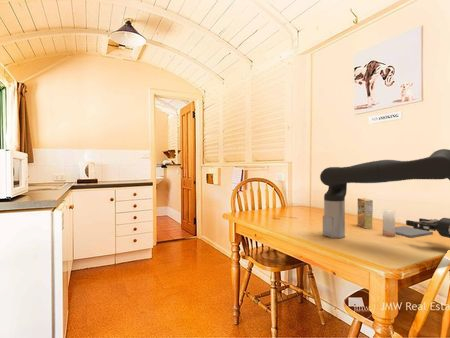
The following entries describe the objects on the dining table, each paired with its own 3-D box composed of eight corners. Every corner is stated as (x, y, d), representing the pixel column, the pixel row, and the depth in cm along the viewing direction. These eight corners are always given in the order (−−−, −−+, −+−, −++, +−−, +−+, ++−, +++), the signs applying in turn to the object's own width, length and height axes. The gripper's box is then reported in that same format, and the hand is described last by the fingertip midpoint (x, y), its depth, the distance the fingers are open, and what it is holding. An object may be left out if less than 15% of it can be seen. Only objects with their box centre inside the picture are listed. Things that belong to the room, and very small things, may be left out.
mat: (410, 237, 123) (410, 235, 123) (382, 230, 136) (382, 228, 136) (432, 234, 129) (432, 232, 129) (404, 227, 142) (404, 225, 142)
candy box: (356, 225, 149) (356, 198, 149) (364, 225, 149) (364, 197, 149) (365, 228, 141) (365, 200, 140) (373, 228, 141) (373, 200, 140)
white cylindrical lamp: (390, 237, 124) (390, 211, 124) (380, 234, 129) (380, 210, 129) (397, 236, 126) (397, 211, 126) (387, 233, 131) (387, 209, 131)
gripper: (467, 217, 104) (423, 211, 120) (444, 221, 99) (401, 214, 114) (467, 236, 104) (423, 228, 120) (444, 241, 99) (402, 231, 114)
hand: (413, 221), depth 117 cm, fingers open, 8 cm apart
